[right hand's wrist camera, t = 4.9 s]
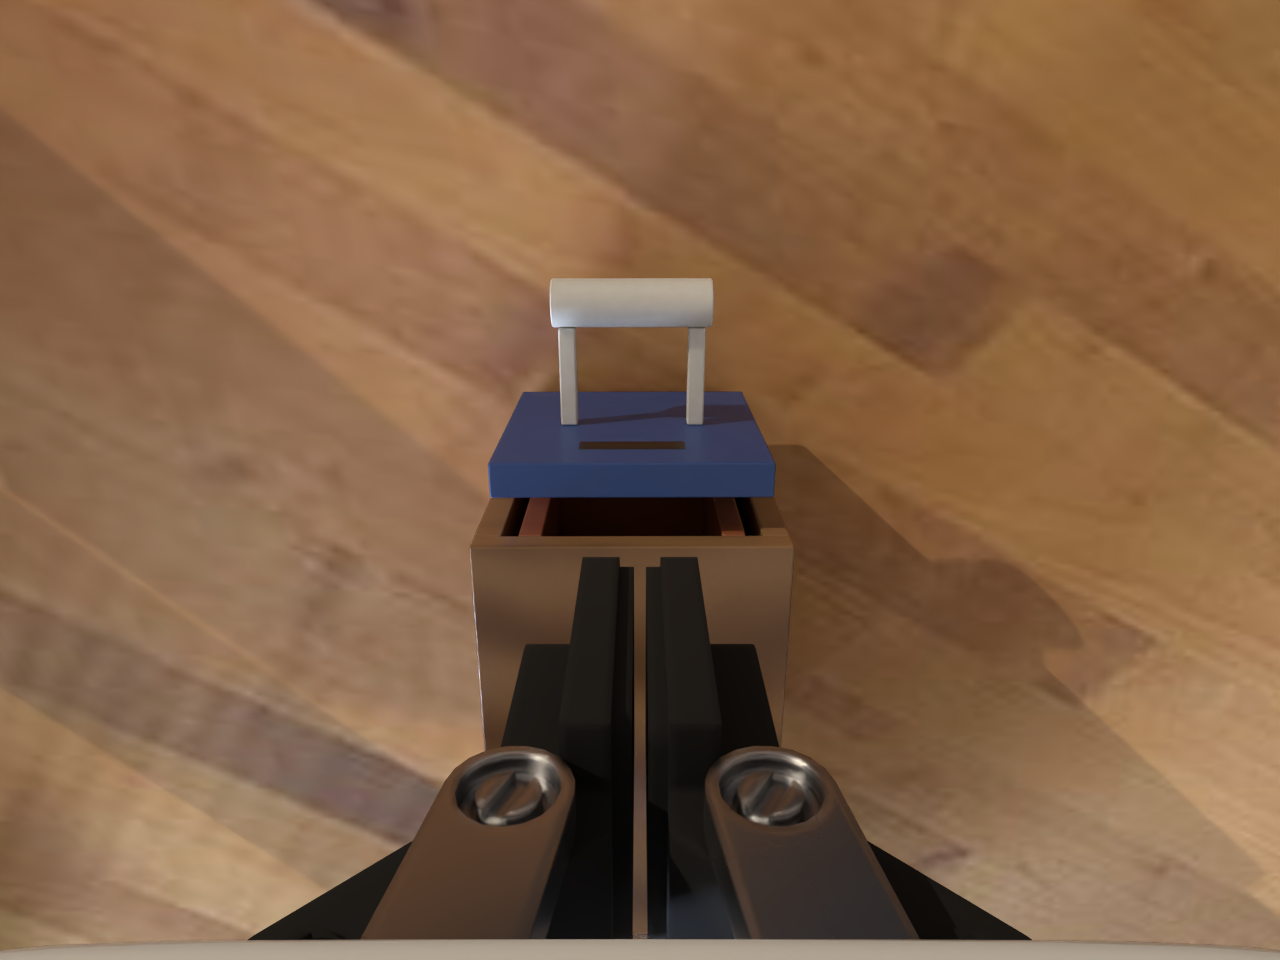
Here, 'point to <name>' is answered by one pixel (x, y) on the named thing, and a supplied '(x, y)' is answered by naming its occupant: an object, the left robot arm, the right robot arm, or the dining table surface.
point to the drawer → (631, 430)
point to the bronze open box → (546, 597)
